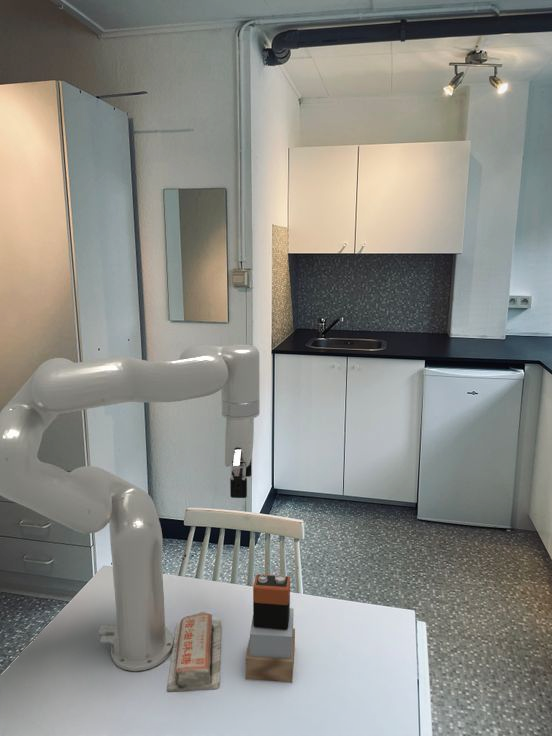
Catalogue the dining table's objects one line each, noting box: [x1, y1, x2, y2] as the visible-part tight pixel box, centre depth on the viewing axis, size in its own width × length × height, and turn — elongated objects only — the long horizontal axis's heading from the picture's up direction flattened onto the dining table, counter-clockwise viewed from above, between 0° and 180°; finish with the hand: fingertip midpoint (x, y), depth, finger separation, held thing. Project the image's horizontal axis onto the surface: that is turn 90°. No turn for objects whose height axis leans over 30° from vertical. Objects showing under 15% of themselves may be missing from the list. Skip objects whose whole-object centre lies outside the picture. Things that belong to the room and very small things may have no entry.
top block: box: [249, 607, 294, 659], centre depth 106 cm, size 8×8×5 cm
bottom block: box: [245, 627, 296, 684], centre depth 107 cm, size 9×9×5 cm
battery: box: [252, 573, 291, 630], centre depth 104 cm, size 4×7×10 cm, turn 84°
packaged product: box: [166, 611, 223, 693], centre depth 109 cm, size 18×5×10 cm
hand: (241, 486), depth 110 cm, fingers open, 9 cm apart
